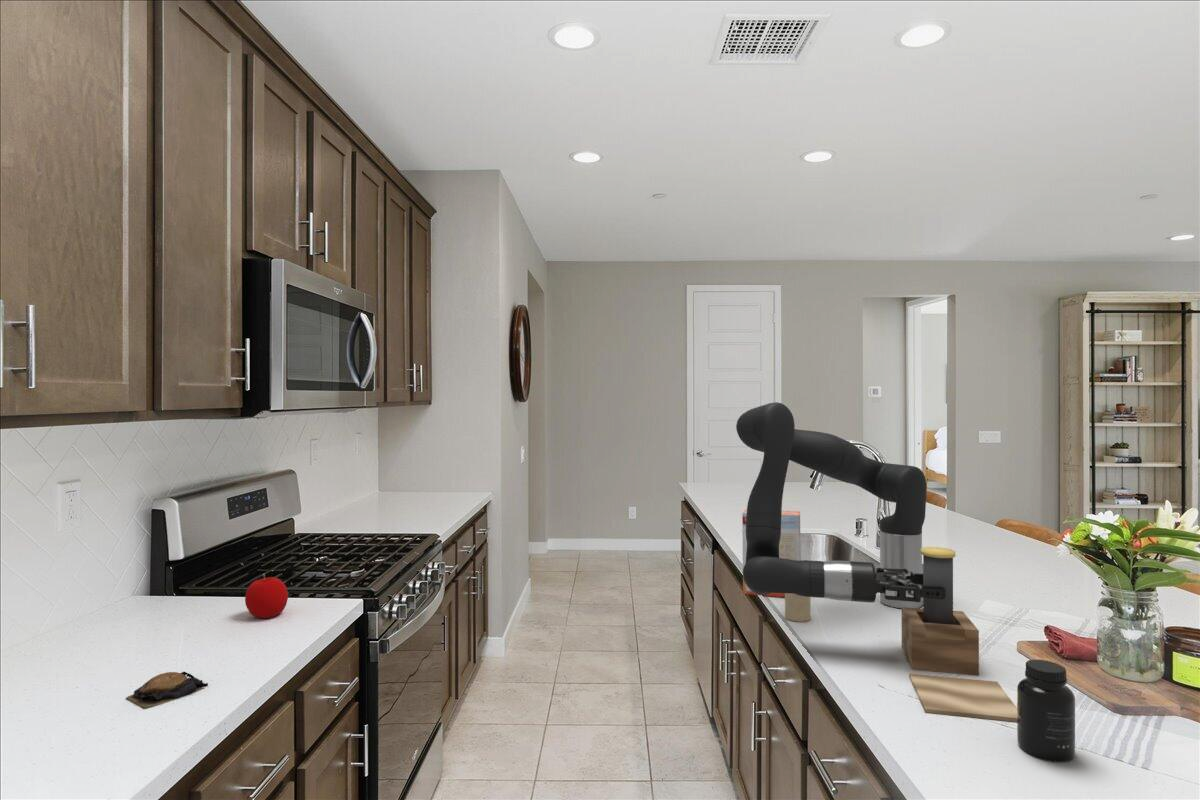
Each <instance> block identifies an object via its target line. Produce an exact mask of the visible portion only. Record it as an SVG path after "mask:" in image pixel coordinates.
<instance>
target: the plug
mask: <svg viewBox="0 0 1200 800" xmlns="http://www.w3.org/2000/svg"><path fill="white" fill-rule="evenodd" d="M921 554H922V564H923V585H930V586H943V587H944V588H945V599H930V598H923V605H922V606H923V607H922V609H923V622H924V623H937V624H951V625H953V611H954V558H955V557H956V550H953V549H952V548H947V547H939V546H925V547H923V546H922V548H921Z"/></svg>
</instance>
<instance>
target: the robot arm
mask: <svg viewBox="0 0 1200 800" xmlns="http://www.w3.org/2000/svg"><path fill="white" fill-rule="evenodd" d="M735 427H736V428H735V429H736V434H737V436H738V437H739V439H740V440H741V442H742V443H743V444H744V445H746V446H747V447H748V448H750V449H751V450H753V451H758V452H761V453H763V459H762V463H761V467H760V469H759V473H758V476H757V477H756V480H755V482H754V485H753V487H752V489H751V491H750V494H749V497H748V501H747V504H746V505H747V506H746V509H747V516H746V540H747V552H746V564H745V566H744V568H743V567H742V580H743V579H744V581H745V583H746V585H747V587H748V588H749V589H750V590H751V591H752V592H754V593H756V594H759V595H758V596H763V595H767V594H770V593H792V594H796V595H799V596H805V597H810V598H819V599H820V598H821V599H823V598H824V599H827V600H828V599H829V600H832V601H833V600H834V601H842V602H843V601H845V602H858V603H870V604H871V603H875V601H876V599H877V594H879V599H880V600H879V601H880V602H881V604H883V605H886V606H888V607H891V608H898V609H902V607H906V608H921V607H922V606H923V598H930V599H945V588H944V587H943V586H930V585H923V555H922V554H921V548H923V525H924V523H925V520H926V510H927V509H926V508H927V507H926V506H927V491H928V490H927V489H928V488H927V487H928V486H927V479H926V475H925V474H924V472H923V470H922V469H921V468H919V467H917V466H913V465H906V464H897V463H889V462H883V461H880V460H879V461H878V460H875V459H873V458H869V457H868V456H865V454H864V453H863V452H862V451H861V449H860V448H859V447H858V446H857V445H855V444H854V443H852V442H850V441H848V440H846V439H843V438H842V437H840V436H838V435H835V434H831V433H828V432H822V431H815V430H814V431H813V430H807V429H806V430H805V429H804V430H803V429H797V428H796V429H795V418H794V415H793V413H792V411H791V410H790V408H788V406H787V405H785V404H783V403H782V402H771V403H770V402H769V403H766V404H763V405H760V406H756V407H754V408H750V409H748V410H747V411H745V412H744V413H742V414H741V415H740V416H739V417H738V419H737V421H736V425H735ZM789 462H793V463H796V464H798V465H800V466H802V467H805V468H808V469H810V470H812V471H814V472H817V473H819V474H821V475H824V476H826V477H829V478H831V479H834V480H838V481H839V482H844V483H846V484H851V485H854V486H857V487H859V488H861V489H862V490H865V491H866V492H868V493H870V494H872V495H873V496H875V497H877V498H878V499H881V500H882V501H886V502H890V503H895V509H894V513H892V514H891V515H888V516H884V517H882V518H881V519H880V521H879V567H875V565H874V563H873V562H869V561H856V560H855V561H851V560H827V561H826V560H824V561H822V560H810V559H809V560H807V559H806V560H805V559H803V560H790V559H784V558H779V543H780V537H781V515H782V511H783V510H782V509H783V495H784V489H785V488H784V487H785V483H786V478H787V473H788V468H789Z"/></svg>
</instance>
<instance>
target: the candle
mask: <svg viewBox="0 0 1200 800" xmlns="http://www.w3.org/2000/svg"><path fill="white" fill-rule="evenodd" d="M811 612H812V611H811V597H805V596H799V595H796V594H792V593H785V597H784V618H785V619H786V620H788V621H791V622H796V623H805V622H809V621H810V620H811Z"/></svg>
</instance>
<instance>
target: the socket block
mask: <svg viewBox="0 0 1200 800" xmlns="http://www.w3.org/2000/svg"><path fill="white" fill-rule="evenodd" d="M979 632H980V630H979V629H978V628H977V627H976V626H975V624H974V623H973V622H972V621H971V619H970V618H969V617H968V616H967V615H966V613H965V612H964V611H961V610H953V625H951V624H937V623H924V622H923V608H921V607H919V608H906V607H902V608H901V649H902V651H903V654H904V656H905V658H906V659H907V662H908V664H909V666H910V668H911V670H914V671H915V670H916V671H918V670H919V671H927V672H939V673H949V674H960V675H973V676H979V675H980V633H979Z"/></svg>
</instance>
